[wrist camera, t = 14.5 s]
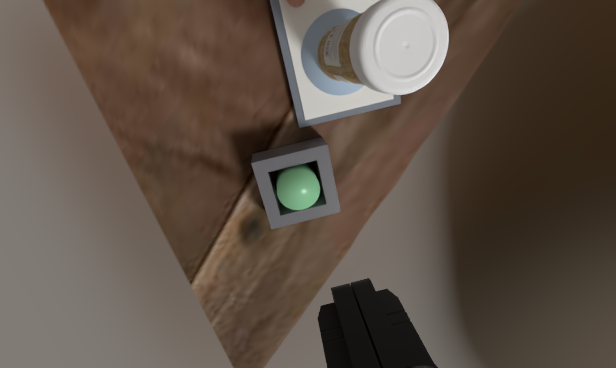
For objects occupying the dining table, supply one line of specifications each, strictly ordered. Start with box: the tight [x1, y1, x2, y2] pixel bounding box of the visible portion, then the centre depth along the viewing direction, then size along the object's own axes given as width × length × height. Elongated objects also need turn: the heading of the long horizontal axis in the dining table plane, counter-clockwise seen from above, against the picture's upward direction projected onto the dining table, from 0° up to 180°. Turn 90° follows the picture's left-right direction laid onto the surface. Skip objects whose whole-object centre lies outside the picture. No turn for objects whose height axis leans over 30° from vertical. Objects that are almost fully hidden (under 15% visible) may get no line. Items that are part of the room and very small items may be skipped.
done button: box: [276, 163, 320, 210], centre depth 29 cm, size 4×4×3 cm
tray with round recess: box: [270, 0, 401, 128], centre depth 26 cm, size 17×10×1 cm, turn 13°
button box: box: [251, 137, 341, 229], centre depth 30 cm, size 7×7×3 cm
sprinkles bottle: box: [317, 0, 449, 95], centre depth 20 cm, size 5×5×13 cm
